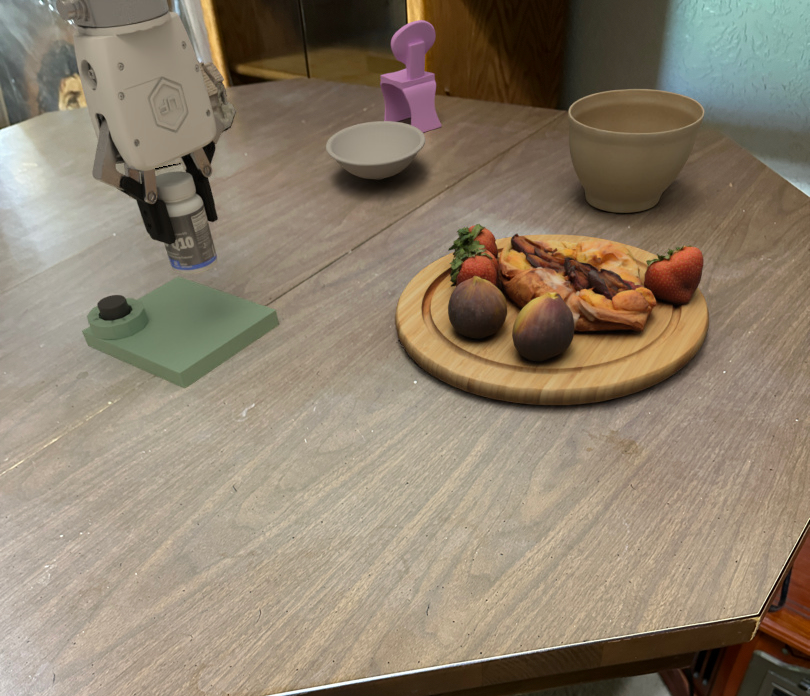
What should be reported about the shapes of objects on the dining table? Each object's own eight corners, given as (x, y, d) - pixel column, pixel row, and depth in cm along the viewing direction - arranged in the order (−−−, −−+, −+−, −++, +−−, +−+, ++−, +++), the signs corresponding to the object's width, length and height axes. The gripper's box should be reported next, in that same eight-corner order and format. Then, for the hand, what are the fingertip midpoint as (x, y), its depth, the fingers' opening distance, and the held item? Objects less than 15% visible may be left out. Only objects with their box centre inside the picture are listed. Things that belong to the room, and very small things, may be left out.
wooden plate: (707, 262, 83) (726, 187, 77) (702, 431, 62) (727, 348, 56) (439, 244, 91) (436, 175, 85) (355, 390, 70) (345, 312, 64)
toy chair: (416, 113, 126) (411, 9, 115) (446, 125, 121) (444, 17, 110) (377, 125, 123) (368, 19, 112) (406, 137, 118) (399, 28, 107)
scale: (88, 346, 79) (75, 317, 77) (182, 291, 87) (174, 263, 84) (185, 389, 72) (174, 359, 70) (279, 325, 80) (273, 295, 77)
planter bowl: (551, 222, 93) (559, 129, 85) (570, 174, 103) (578, 87, 95) (682, 230, 89) (703, 133, 81) (688, 179, 99) (706, 89, 91)
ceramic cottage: (188, 142, 123) (164, 36, 113) (144, 127, 133) (118, 29, 123) (264, 123, 131) (247, 22, 121) (217, 111, 140) (198, 16, 130)
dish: (330, 161, 113) (326, 126, 110) (421, 152, 113) (419, 116, 110) (330, 206, 101) (325, 168, 98) (432, 196, 101) (430, 158, 98)
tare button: (96, 317, 77) (91, 304, 76) (118, 305, 79) (113, 292, 78) (114, 325, 76) (108, 311, 75) (136, 312, 77) (131, 298, 76)
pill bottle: (163, 273, 73) (134, 187, 66) (187, 252, 76) (162, 167, 69) (204, 277, 71) (178, 190, 65) (226, 256, 74) (204, 170, 68)
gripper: (57, 32, 51) (142, 274, 65) (227, -18, 60) (271, 204, 74) (-1, 25, 55) (91, 256, 68) (168, -21, 64) (220, 191, 77)
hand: (184, 227), depth 71 cm, fingers closed on pill bottle, 4 cm apart
